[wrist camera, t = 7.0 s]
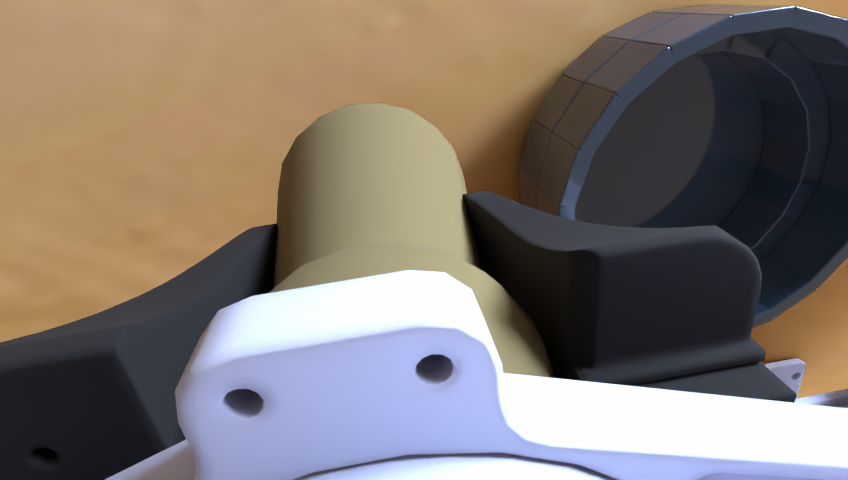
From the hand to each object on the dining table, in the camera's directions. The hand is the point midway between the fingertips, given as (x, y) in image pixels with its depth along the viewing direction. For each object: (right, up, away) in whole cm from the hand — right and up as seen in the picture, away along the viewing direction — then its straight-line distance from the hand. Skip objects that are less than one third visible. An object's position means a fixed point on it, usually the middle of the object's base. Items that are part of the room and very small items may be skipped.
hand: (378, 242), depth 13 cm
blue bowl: (+11, +3, +8) cm, 14 cm away
